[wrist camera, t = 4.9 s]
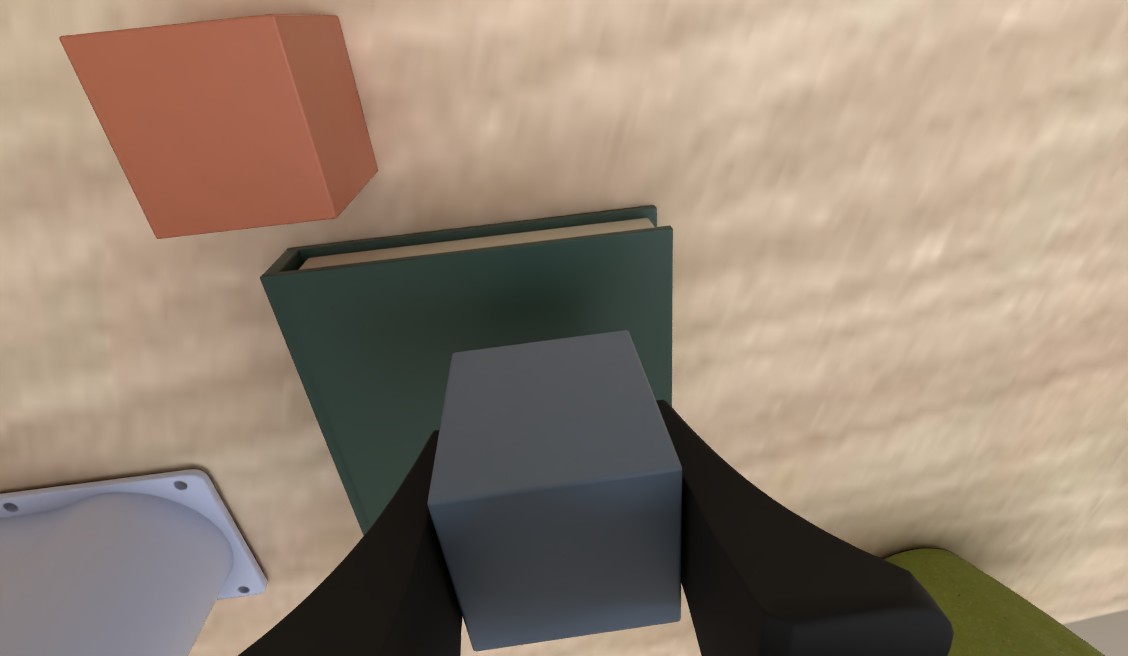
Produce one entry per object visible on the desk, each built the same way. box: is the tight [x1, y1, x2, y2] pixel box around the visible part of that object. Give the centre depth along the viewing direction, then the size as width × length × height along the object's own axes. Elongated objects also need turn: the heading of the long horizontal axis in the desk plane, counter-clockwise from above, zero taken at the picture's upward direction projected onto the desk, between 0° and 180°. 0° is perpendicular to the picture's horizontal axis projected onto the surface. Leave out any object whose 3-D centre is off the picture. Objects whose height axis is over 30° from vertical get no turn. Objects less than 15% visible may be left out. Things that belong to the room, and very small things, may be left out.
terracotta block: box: [59, 14, 378, 239], centre depth 15 cm, size 4×4×5 cm
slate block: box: [427, 330, 682, 651], centre depth 13 cm, size 4×4×5 cm
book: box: [260, 206, 673, 535], centre depth 22 cm, size 13×15×2 cm
